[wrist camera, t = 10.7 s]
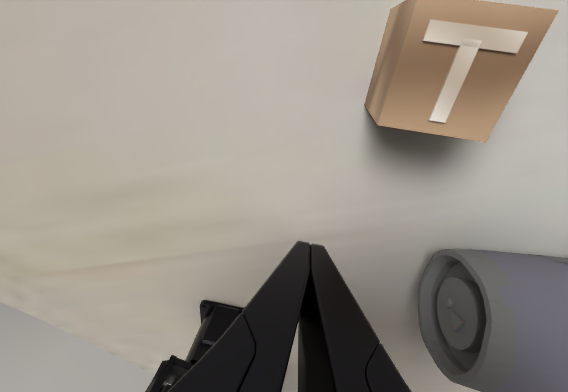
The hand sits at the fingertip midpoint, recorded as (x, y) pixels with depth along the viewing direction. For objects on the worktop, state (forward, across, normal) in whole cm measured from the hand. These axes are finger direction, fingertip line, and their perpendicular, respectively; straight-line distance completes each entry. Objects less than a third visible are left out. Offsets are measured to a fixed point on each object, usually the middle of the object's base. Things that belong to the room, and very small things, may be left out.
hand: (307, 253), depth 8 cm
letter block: (+11, -5, -6) cm, 14 cm away
